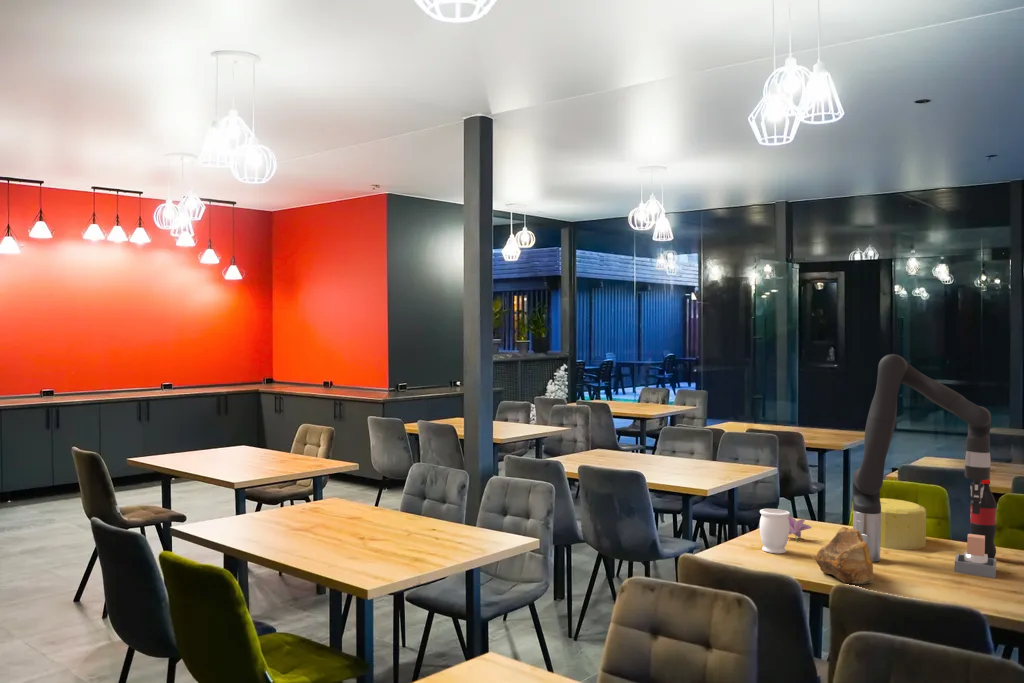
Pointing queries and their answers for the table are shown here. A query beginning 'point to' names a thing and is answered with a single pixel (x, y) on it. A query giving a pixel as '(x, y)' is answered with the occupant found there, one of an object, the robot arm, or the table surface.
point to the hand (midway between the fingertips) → (976, 511)
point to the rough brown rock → (847, 557)
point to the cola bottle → (985, 520)
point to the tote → (975, 567)
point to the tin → (976, 559)
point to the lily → (797, 526)
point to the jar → (774, 530)
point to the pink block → (976, 544)
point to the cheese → (902, 524)
